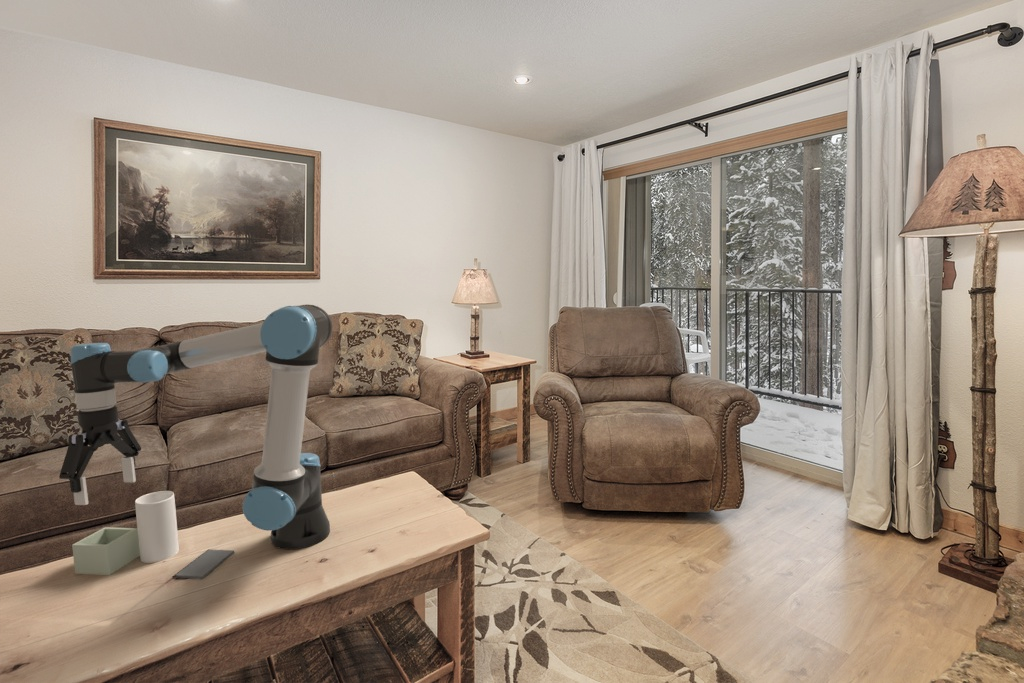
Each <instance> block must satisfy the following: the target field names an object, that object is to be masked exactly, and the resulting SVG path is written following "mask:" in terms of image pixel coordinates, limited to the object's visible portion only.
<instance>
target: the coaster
mask: <svg viewBox="0 0 1024 683" xmlns="http://www.w3.org/2000/svg"><path fill="white" fill-rule="evenodd" d="M234 553H235V550H233V549H232V550H231V549H230V550H229V549H209V548H208V549H206V550H205V551H204V552H202V554H200V555H199V556H197V557H196V558H195V559H193V561H191V562H190V563H188V564H187V565H186V566H184V567H183V568H181V570H179V571H178V572H177V573H175V574H174V575H173V576H171V578H177V579H178V578H179V579H194V580H195V579H196V580H198V579H199V580H203V579H205V578H206V577H207V576H208V575H210V574H211V573H212V572H213V571H214V570H215V569H217V568H218V567H219V566H220V565H221V564H223V563H224V562H225V561H226V560H228V559H229V558H230V557H231V556H233V554H234Z"/></svg>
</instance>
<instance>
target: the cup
mask: <svg viewBox="0 0 1024 683" xmlns="http://www.w3.org/2000/svg"><path fill="white" fill-rule="evenodd" d="M134 504H135V505H134V508H135V515H136V527H137V529H138V539H139V550H140V556H139V559H140V562H142V563H147V564H148V563H157V562H162V561H166V560H168V559H170V558H172V557H174V556H176V555H177V554H178V553H179V551H180V547H179V535H178V534H179V533H178V523H177V522H178V521H177V520H178V519H177V511H176V501H175V493H174V491H171V490H160V491H154V492H150V493H147V494H143V495H141V496H139V497H138V498H136V499H135V501H134Z"/></svg>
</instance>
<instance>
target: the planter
mask: <svg viewBox="0 0 1024 683" xmlns="http://www.w3.org/2000/svg"><path fill="white" fill-rule="evenodd" d="M71 547H72V556H73V564H74V574H77V575H79V574H80V575H95V576H97V575H101V576H102V575H103V576H111V575H112V574H114V573H115V572H117V571H118V570H120V569H121V568H123V567H125V566H126V565H128V564H129V563H131V562H133V561H134V560H135V559H137V558H138V557H139V558H140V550H139V539H138V529H137V528H136V527H135V528H134V527H133V528H132V527H115V526H114V527H113V526H110V527H109V526H106V527H105V526H104V527H103V528H100V529H99V530H97V531H96V532H94V533H92V534H90V535H87V536H86V537H84V538H82V539H80V540H79V541H77V542H75V543H73V544H72V545H71Z"/></svg>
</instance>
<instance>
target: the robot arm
mask: <svg viewBox="0 0 1024 683" xmlns="http://www.w3.org/2000/svg"><path fill="white" fill-rule="evenodd" d="M332 333H333V321H332V319H331V317H330V315H329V314H328V312H326V311H325V309H323V308H321V307H320V306H318V305H314V304H301V305H287V306H284V307H280V308H278V309H275V310H274V311H272V312H271V313H270V314H268V315H267V316H266V317H265V319H264V320H263V322H261V323H256V324H252V325H248V326H243V327H237V328H234V329H229V330H225V331H221V332H220V331H219V332H216V333H212V334H207V335H206V334H205V335H202V336H198V337H194V338H188V339H185V340H181V341H177V342H171V343H167V344H163V345H157V346H153V347H152V346H151V347H147V348H142V349H137V350H124V351H116V350H115V351H114V350H112V349H111V346H110V343H108V342H90V343H89V342H88V343H81V344H75V345H73V346H72V347H70V363H69V364H70V368H71V373H72V378H73V385H74V395H75V396H74V397H75V405H76V409H78V411H77V413H76V414H77V421H78V426H79V427H80V428H81V429H82V430H81V433H79V434H69V435H68V447H67V450H66V453H65V455H64V456H65V457H64V460H63V463H62V466H61V469H60V473H59V477H58V478H59V479H60V480H69V486H70V492H71V493H72V494H73V500H74V502H73V503H74V505H75V506H86V505H89V495H88V488H87V480H86V476H83V475H84V472H85V470H86V468H87V467H88V465H89V463H90V461H91V459H92V457H93V455H94V453H95V452H96V451H97V450H98V448H101V447H103V446H105V445H111V446H112V447H113V448H114V449H115V450H117V451H118V452H119V453H120V454H122V455H123V457H120V460H121V469H122V478H123V483H135V482H137V478H136V477H137V476H136V470H135V469H136V457H138V456H139V453H140V452H141V451H142V446H141V445H140V443H139V442H138V439H136V437H135V435H134V433H133V431H132V430H131V429H130V426H129V423H128V420H126V419H119V413H118V412H119V411H118V407H117V406H116V404H117V402H118V401H117V392H116V387H115V384H117V383H119V384H120V383H144V384H147V383H150V382H159V381H161V380H162V379H163V378H164V377H165V376H166V375H168V374H172V373H176V372H177V373H178V372H181V371H185V370H191V369H193V368H197V367H203V366H206V365H208V366H209V365H210V364H211V365H212V364H216V363H220V362H226V361H229V360H234V359H238V358H242V357H243V358H244V357H248V356H252V355H255V354H256V355H257V354H261V353H265V352H266V353H265V362H266V363H267V364H268V365H269V367H271V371H270V380H269V382H270V383H269V390H268V398H267V410H266V418H265V429H264V438H263V445H262V446H263V447H262V458H261V463H259V464H258V465H257V466H256V467H255V468H254V469H253V476H252V485H251V489H250V490H249V491H248V492H247V494H246V496H245V497H244V499H243V501H242V512H243V515H244V517H245V519H246V520H247V521H248V522H249V523H251V525H252V526H253V527H255V528H257V529H259V530H263V531H270V542H271V544H272V546H274V547H275V548H277V549H283V550H296V549H297V550H298V549H304V548H308V547H311V546H314V545H316V544H319V543H320V542H322V541H324V540H325V539H326V538H327V537H328V536H329V535H330V533H331V525H330V520H329V519H328V516H327V514H326V512H325V509H324V507H323V500H322V499H323V497H322V495H323V494H322V477H321V466H322V465H321V461H320V457H319V456H318V454H315V453H311V452H302V447H303V437H304V428H305V420H306V419H305V418H306V411H307V402H308V395H309V394H308V392H309V386H310V385H309V384H310V375H311V371H312V370H313V369H314V368H315V367H317V366H318V364H319V354H320V348H321V347H324V346H325V344H326V343H327V342H328V341H329V340H330V338H331V336H332Z"/></svg>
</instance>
